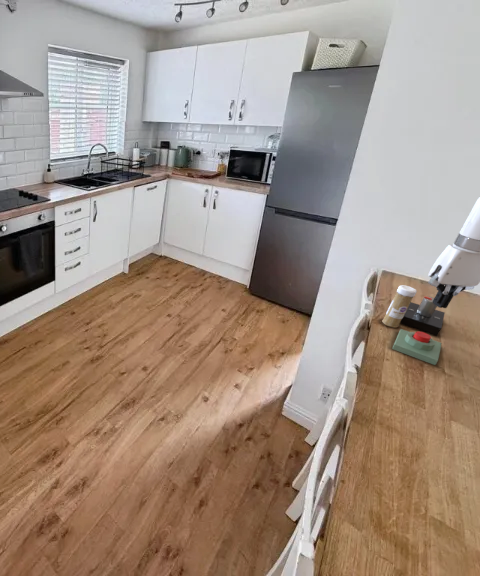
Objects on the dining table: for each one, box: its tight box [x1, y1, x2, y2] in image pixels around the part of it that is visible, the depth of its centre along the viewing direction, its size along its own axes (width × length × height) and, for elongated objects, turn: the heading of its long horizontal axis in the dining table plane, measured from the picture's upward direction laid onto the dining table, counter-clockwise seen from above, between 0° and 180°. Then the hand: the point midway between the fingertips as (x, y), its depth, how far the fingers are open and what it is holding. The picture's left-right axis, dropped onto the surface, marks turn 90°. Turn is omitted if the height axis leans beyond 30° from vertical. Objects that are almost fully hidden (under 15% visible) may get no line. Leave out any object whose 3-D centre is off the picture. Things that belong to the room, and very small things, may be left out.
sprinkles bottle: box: [381, 284, 418, 328], centre depth 117 cm, size 5×5×14 cm
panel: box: [399, 301, 446, 337], centre depth 122 cm, size 14×10×3 cm
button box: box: [392, 328, 442, 366], centre depth 108 cm, size 12×10×4 cm
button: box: [413, 330, 432, 343], centre depth 107 cm, size 4×4×2 cm
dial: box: [416, 295, 438, 317], centre depth 120 cm, size 4×4×6 cm
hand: (438, 305), depth 102 cm, fingers closed
